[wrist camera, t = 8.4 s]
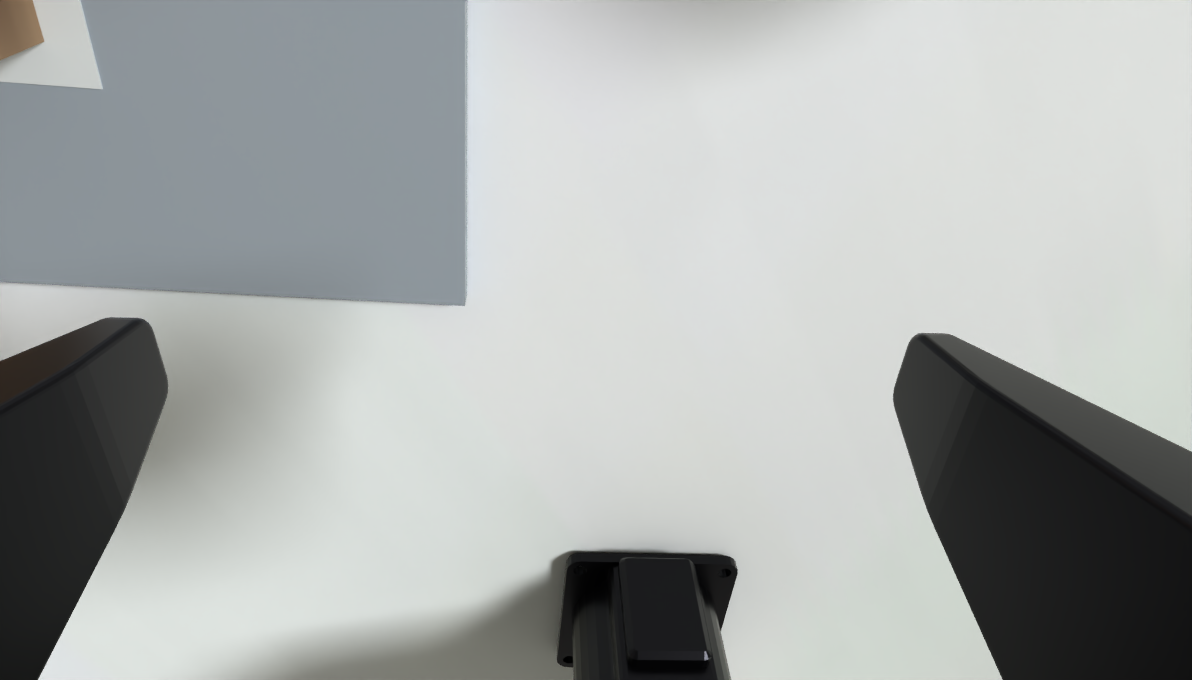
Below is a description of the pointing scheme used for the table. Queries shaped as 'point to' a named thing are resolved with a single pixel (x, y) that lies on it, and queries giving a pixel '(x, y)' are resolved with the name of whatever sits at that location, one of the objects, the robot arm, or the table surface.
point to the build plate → (239, 148)
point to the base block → (18, 27)
